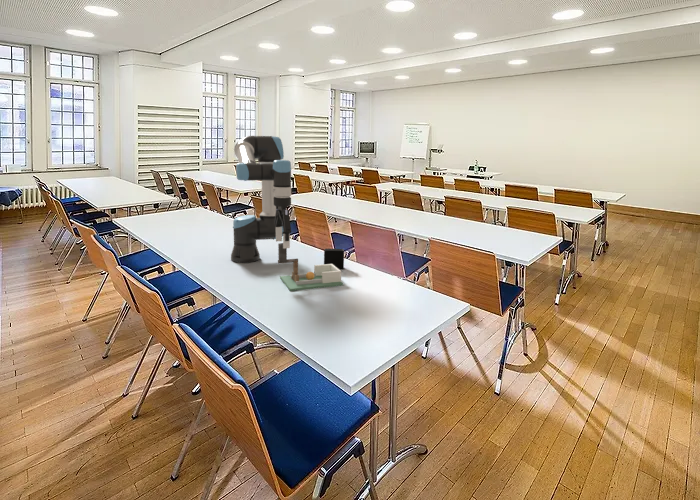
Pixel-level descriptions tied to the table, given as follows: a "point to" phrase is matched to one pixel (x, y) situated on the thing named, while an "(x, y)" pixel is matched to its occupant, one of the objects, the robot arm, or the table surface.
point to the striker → (288, 261)
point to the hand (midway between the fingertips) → (282, 244)
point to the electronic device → (334, 257)
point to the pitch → (315, 278)
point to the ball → (310, 275)
